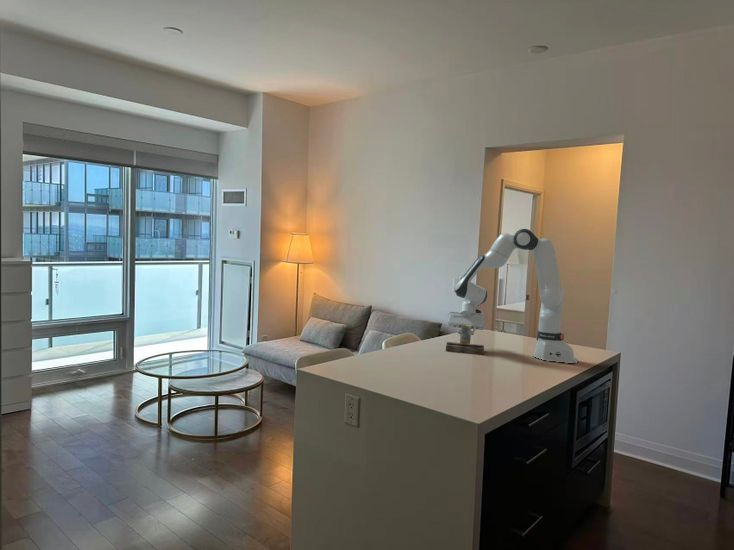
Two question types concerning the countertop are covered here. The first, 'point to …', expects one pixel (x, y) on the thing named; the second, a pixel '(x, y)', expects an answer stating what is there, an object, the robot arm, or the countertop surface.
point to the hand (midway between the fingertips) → (465, 333)
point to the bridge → (465, 348)
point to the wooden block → (465, 334)
